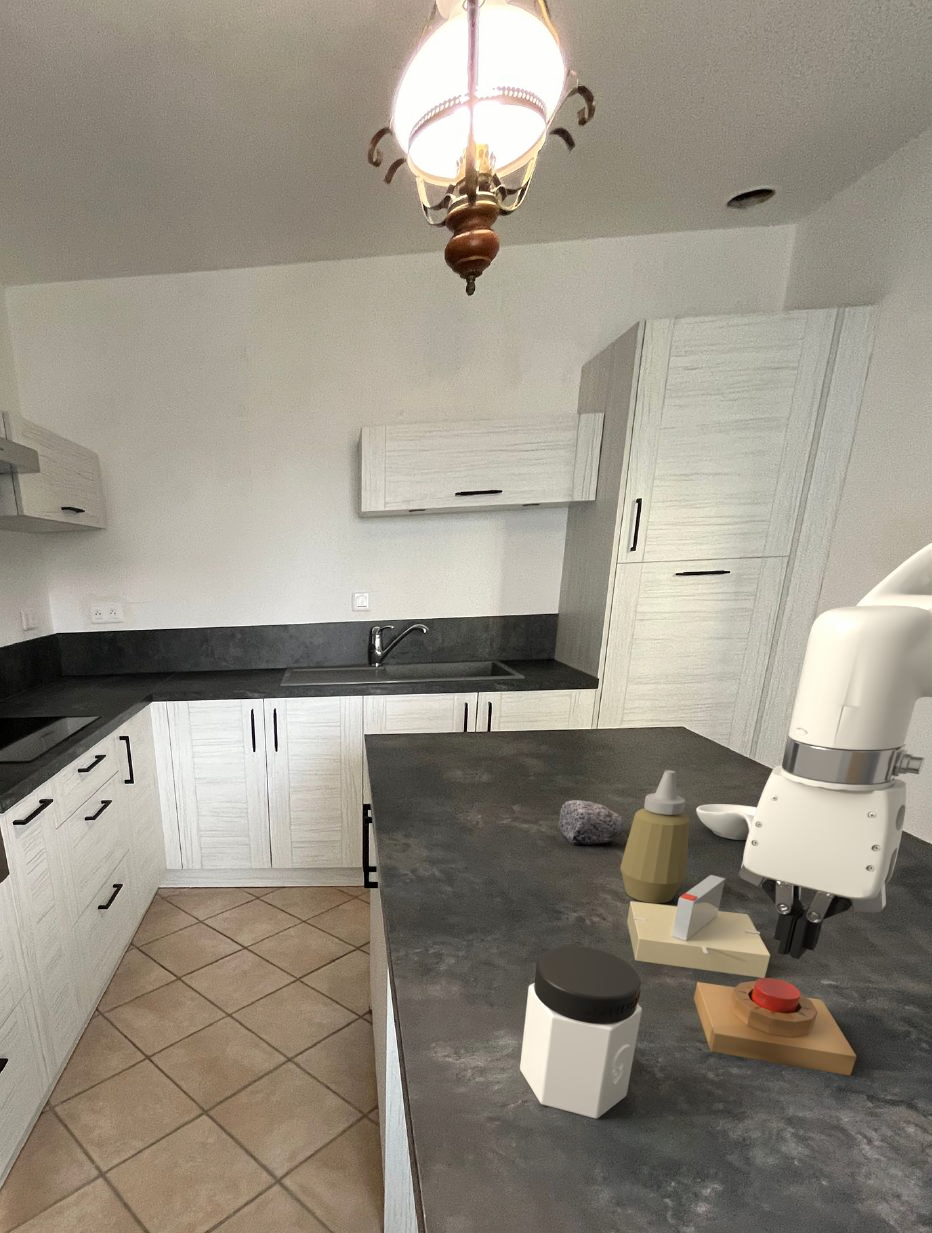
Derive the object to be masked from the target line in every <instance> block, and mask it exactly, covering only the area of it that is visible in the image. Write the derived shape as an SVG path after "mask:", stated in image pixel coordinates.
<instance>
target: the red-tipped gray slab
mask: <svg viewBox="0 0 932 1233" xmlns="http://www.w3.org/2000/svg"><path fill="white" fill-rule="evenodd" d="M725 881H726V878H725V877H720V876H717V875H713V874H710V875H708V876H707V877H705V878H704V879H702V880H701V881H700V882H699V883H697V884H696V885H695V886H693V887H692V888H690V889H689V890H687V891H686V892H684V893H683V894H682V895H680V896H679V897H678V901H677V905H676V906H677V911H676V916H675V921H674V927H673V932H672V936H673V937H676V938H679V939H682V940H685V941H687V940H688V939H689V938H690V937H691V936H693V935H694V934H695V933H696V932H698V931H699V930H700V929H701V928H702V927H704V926H705V925H706V924H707V923H709V922H710V921H711V920H712V919H713V918H715V917H716V916H717V914H718V911H719V909H720V905H721V900H722V896H723V892H724V891H723V890H724V886H725Z"/></svg>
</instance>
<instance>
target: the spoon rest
mask: <svg viewBox="0 0 932 1233" xmlns="http://www.w3.org/2000/svg"><path fill="white" fill-rule="evenodd" d="M756 809H757V806H750V805H744V804H743V805H741V804H728V803H727V804H726V803H711V804H710V803H709V804H702V805H698V806H697V807H696V810H695V812H696V815H697V816H698V819H699V820H700V821H701V823H702V824H703V825H704V826H705V827H707V828H708V829H709V830H711V832H712V833H713V834H714V835H716V836H718V837H720V838H724V839H729V840H736V841H747V837H748V834H749V830H750V827H751V824H752V821H753V818H754V815H755V812H756ZM742 866H743V861H742V862H741V867H740V869H741V868H742Z"/></svg>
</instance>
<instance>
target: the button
mask: <svg viewBox="0 0 932 1233" xmlns="http://www.w3.org/2000/svg"><path fill="white" fill-rule="evenodd" d="M755 981H756V982H755V985H754V989H753V993H752V997H751V999H752V1001H753V1002H754V1003H756V1004H757V1005H758V1006H760V1007H762V1008H765V1009H767V1010H770V1011H773V1012H778V1013H785V1014H790V1013H795V1012H796V1010H797V1006H798V1003H799V999H800V995H802V994H801V991H800V990H799V989H798V988H797V987H796V986H795V985H793V984H791V983H789V982H787V981H785V980H782V979H778V978H771V977H765V978H758V979H756V980H755Z"/></svg>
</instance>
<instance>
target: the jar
mask: <svg viewBox="0 0 932 1233" xmlns="http://www.w3.org/2000/svg"><path fill="white" fill-rule="evenodd" d="M535 965H536V966H535V975H534V982H533V983H531V984H529V985H528V989H527V990H528V991H527V1000H526V1008H525V1017H524V1027H523V1037H522V1046H521V1054H520V1055H521V1056H520V1062H519V1063H520V1065H519V1070H520V1072H521V1074H522V1075H523V1077H524V1079H525V1080H526V1082H527V1084H528V1085H529V1087H530V1089H531V1090H532V1092H533V1094H534V1095H535V1097H536V1099H537V1100H538V1102H539V1103H540V1104H541V1105H542V1106H546V1107H550V1108H554V1109H557V1110H560V1111H564V1112H569V1113H572V1114H577V1115H580V1116H583V1117H588V1118H590V1119H591V1118H592V1119H595V1120H596V1119H599V1118H600V1117H602V1116H603V1115H604V1114H605V1113H607V1112H608V1111H609V1110H611V1109H612V1108H613V1107H614V1106H616V1105H617V1104H618V1103H619V1102H621V1101H622V1100H623V1099H624V1098H625V1097H627V1094H628V1090H629V1083H630V1079H631V1078H630V1077H631V1072H632V1066H633V1062H634V1056H635V1050H636V1046H637V1040H638V1033H639V1028H640V1024H641V1018H642V1013H643V1009H642V1007H641V1005H640V1004H639V1001H640V997H641V984H642V982H641V976H640V974H639V972H638V971H637V969H636V968H634V967H633V966H632V965H631V963H628V962H627V961H626V960H624V959H622V958H620V957H619V956H617V955H615V954H613V953H610V952H607V951H604V950H601V949H597V948H592V947H586V946H576V945H575V946H574V945H572V946H571V945H570V946H559V947H554V948H552V949H549V950H547V951H545V952H543V953H541V955H540V956H539V957H538V958H537V961H536V964H535Z"/></svg>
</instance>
